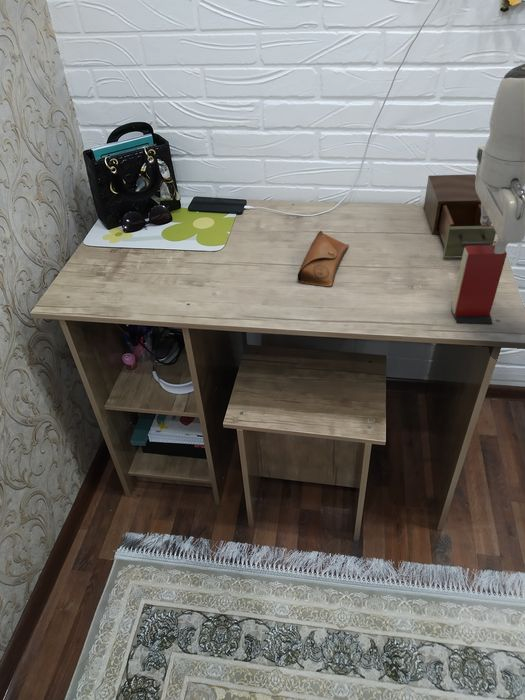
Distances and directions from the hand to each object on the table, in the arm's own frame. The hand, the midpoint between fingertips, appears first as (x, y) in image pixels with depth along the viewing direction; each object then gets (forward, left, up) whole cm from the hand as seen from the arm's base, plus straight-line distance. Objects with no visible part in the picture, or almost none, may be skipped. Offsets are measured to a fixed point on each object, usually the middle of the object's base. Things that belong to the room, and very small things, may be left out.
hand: (491, 238), depth 106 cm
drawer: (+9, -22, -17) cm, 29 cm away
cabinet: (+16, -34, -18) cm, 42 cm away
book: (0, 0, -18) cm, 18 cm away
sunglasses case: (+36, -2, -18) cm, 40 cm away
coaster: (0, 0, -18) cm, 18 cm away
